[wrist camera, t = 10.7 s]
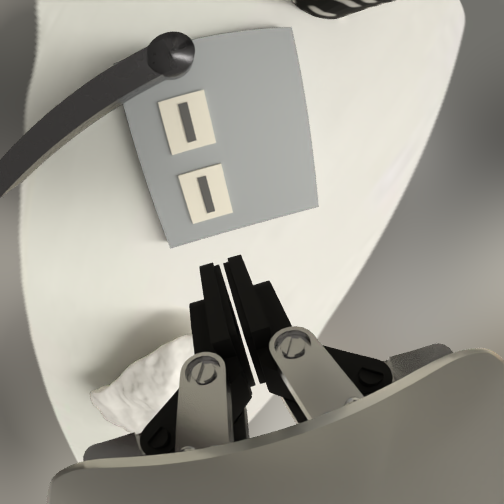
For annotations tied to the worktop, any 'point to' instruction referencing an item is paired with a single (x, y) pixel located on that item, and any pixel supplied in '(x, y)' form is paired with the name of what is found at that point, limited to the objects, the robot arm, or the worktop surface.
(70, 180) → the worktop surface
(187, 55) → the swing arm
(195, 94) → the label panel
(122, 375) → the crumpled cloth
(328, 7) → the white-spotted black cylinder
